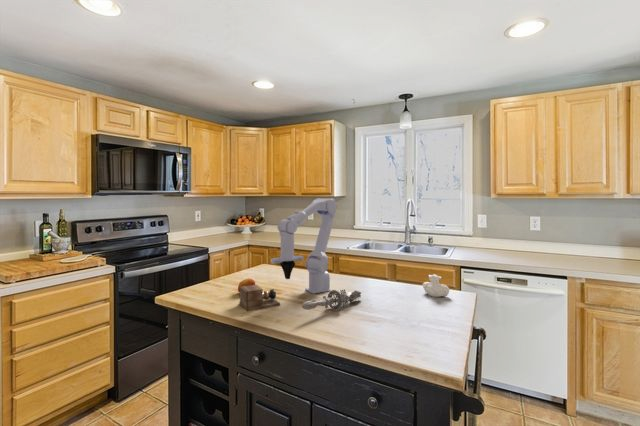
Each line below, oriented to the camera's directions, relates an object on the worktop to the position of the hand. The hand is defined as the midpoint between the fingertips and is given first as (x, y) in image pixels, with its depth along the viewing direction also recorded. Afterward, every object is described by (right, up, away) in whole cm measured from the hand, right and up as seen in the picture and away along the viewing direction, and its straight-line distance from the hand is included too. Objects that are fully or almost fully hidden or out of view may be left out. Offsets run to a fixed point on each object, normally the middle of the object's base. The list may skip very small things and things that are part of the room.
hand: (287, 278), depth 141 cm
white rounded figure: (+66, -10, +7) cm, 67 cm away
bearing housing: (-11, -10, -5) cm, 16 cm away
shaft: (-11, -8, -5) cm, 14 cm away
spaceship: (+20, -11, -11) cm, 25 cm away
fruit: (-20, -9, +9) cm, 23 cm away
